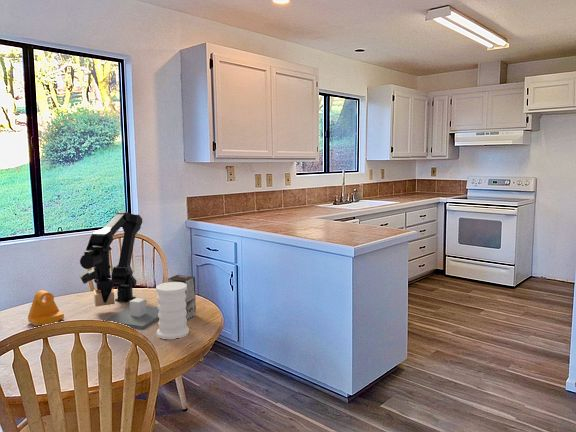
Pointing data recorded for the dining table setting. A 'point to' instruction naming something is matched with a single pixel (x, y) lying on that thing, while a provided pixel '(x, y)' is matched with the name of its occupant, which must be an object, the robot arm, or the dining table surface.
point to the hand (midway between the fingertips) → (104, 299)
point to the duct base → (136, 320)
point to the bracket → (44, 309)
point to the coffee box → (187, 293)
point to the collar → (99, 300)
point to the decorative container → (172, 310)
